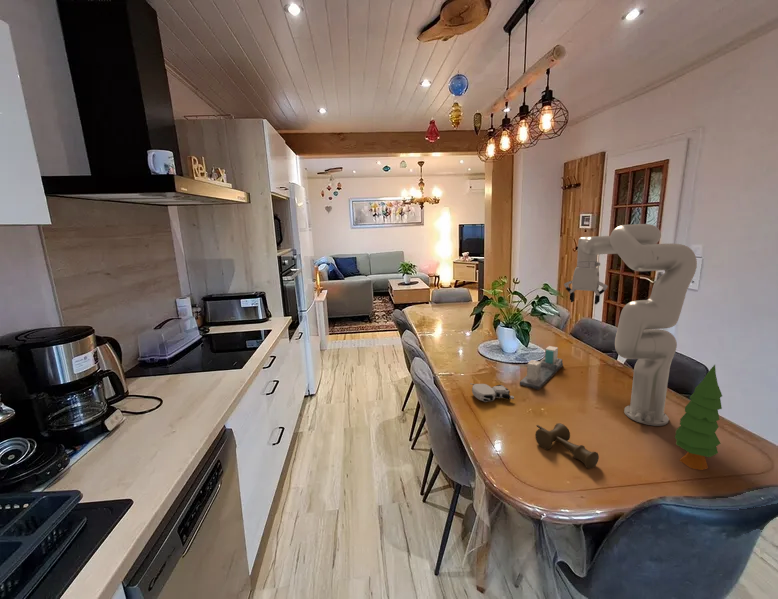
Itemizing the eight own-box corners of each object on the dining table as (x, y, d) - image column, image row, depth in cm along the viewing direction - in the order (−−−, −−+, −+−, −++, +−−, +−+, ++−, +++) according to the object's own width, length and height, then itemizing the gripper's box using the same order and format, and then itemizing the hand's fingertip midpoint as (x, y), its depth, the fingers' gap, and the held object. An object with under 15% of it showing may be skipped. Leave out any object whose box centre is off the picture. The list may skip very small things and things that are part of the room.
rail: (538, 389, 145) (539, 368, 143) (519, 384, 151) (520, 364, 149) (562, 365, 168) (564, 347, 166) (545, 362, 174) (546, 343, 172)
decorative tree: (722, 476, 93) (740, 371, 87) (680, 471, 96) (695, 368, 90) (701, 454, 102) (716, 357, 96) (663, 449, 105) (676, 355, 99)
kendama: (581, 476, 96) (525, 437, 114) (604, 466, 100) (546, 429, 118) (584, 457, 95) (526, 420, 113) (606, 447, 99) (547, 413, 117)
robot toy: (502, 391, 148) (467, 391, 146) (503, 381, 147) (468, 381, 145) (515, 405, 136) (478, 406, 134) (516, 394, 135) (479, 395, 133)
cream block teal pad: (556, 363, 168) (557, 347, 166) (552, 367, 164) (553, 350, 162) (548, 361, 171) (549, 345, 169) (544, 365, 166) (544, 349, 165)
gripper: (610, 264, 152) (607, 303, 155) (567, 263, 163) (565, 299, 166) (607, 266, 147) (604, 306, 150) (563, 265, 158) (561, 302, 161)
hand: (584, 302), depth 158 cm, fingers open, 9 cm apart
